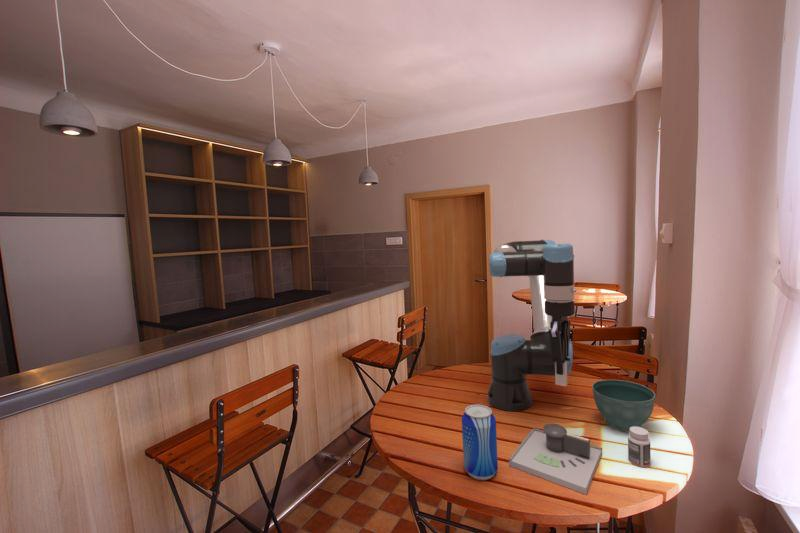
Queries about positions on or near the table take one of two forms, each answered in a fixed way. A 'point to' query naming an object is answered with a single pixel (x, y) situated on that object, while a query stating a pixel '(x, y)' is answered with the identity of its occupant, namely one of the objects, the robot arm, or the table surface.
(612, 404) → the flower pot
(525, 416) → the table surface
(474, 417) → the beer can
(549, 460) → the green curved panel
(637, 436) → the pill bottle
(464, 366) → the table surface
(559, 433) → the tuner knob
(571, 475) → the tuner board
